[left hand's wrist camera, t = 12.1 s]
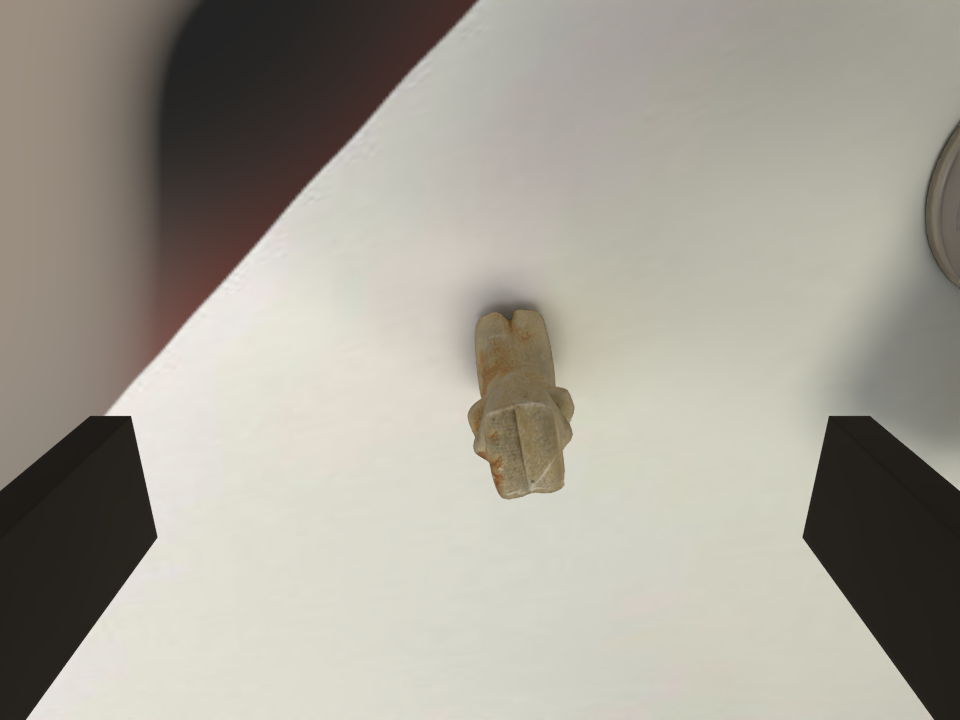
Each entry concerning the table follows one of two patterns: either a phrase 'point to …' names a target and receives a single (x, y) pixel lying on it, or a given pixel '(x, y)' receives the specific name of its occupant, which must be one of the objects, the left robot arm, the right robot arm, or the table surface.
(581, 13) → the table surface
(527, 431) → the sculpture
